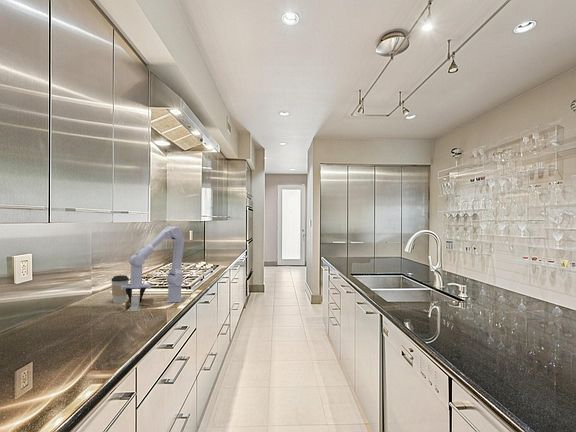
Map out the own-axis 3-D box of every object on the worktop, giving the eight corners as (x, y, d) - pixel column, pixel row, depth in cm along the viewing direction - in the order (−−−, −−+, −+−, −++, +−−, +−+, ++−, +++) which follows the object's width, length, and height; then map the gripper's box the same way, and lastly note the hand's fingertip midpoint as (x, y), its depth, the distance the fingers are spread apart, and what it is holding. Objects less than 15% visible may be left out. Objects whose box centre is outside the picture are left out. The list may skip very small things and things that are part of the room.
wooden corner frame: (126, 305, 179) (126, 299, 179) (153, 304, 183) (153, 298, 183) (121, 312, 167) (121, 305, 167) (150, 310, 171) (151, 304, 171)
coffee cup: (111, 300, 189) (112, 274, 189) (128, 299, 193) (129, 273, 193) (110, 304, 181) (110, 277, 181) (128, 302, 184) (128, 276, 185)
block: (131, 307, 175) (131, 296, 175) (139, 306, 176) (139, 295, 176) (129, 310, 168) (129, 299, 168) (138, 310, 169) (138, 298, 170)
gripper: (151, 275, 181) (150, 299, 181) (122, 276, 177) (122, 301, 177) (150, 277, 175) (149, 303, 175) (120, 278, 171) (119, 304, 170)
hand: (135, 302), depth 175 cm, fingers open, 4 cm apart
